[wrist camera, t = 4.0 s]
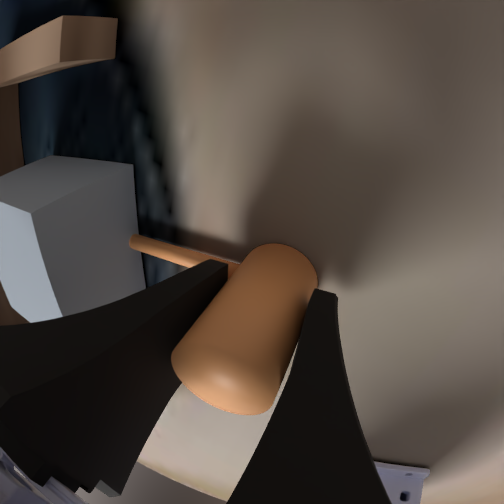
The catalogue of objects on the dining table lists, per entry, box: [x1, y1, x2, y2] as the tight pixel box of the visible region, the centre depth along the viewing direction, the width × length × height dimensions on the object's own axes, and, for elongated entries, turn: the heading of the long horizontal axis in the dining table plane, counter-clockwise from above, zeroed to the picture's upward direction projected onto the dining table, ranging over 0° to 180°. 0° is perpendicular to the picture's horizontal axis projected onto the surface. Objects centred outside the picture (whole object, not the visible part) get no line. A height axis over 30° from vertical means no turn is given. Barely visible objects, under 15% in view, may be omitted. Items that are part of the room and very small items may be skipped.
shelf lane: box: [0, 16, 118, 326], centre depth 11 cm, size 10×17×6 cm, turn 175°
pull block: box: [0, 155, 318, 415], centre depth 10 cm, size 13×6×4 cm, turn 85°
